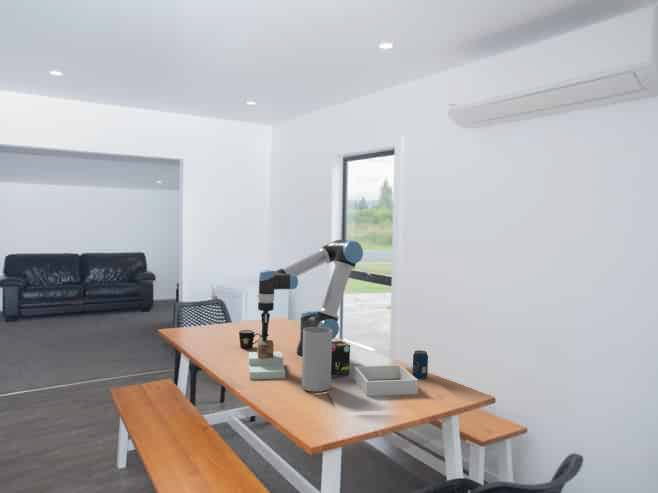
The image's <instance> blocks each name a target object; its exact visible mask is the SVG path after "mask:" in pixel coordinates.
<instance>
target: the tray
mask: <svg viewBox="0 0 658 493" xmlns="http://www.w3.org/2000/svg"><path fill="white" fill-rule="evenodd" d="M352 375H353V377H352V379H353V381H354V382H355V383H356V385H357V386H358V387H359V388H360V390H361V391H362V392H363V394H364V395H365V396H366V397H378V396H379V397H380V396H381V397H382V396H383V397H384V396H402V395H403V396H405V395H406V396H407V395H418V394H419V379H417V378H415V377H414V376H413V373H411V372H409V371H408V370H407V369H406V368H405V367H404V366H402V365H401V364H391V365H389V364H388V365H360V366H359V365H354V366H353V374H352ZM392 379H393V380H392Z"/></svg>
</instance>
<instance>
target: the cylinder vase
mask: <svg viewBox="0 0 658 493" xmlns="http://www.w3.org/2000/svg"><path fill="white" fill-rule="evenodd" d="M332 342H333V339H332V329H329V328H324V327H309V328H305V329H303V356H302V355H301V356H302V357H301V358H302V362H301V363H302V365H301V369H302V370H301V388H302V389H303V390H305V391H308V392H315V393H317V392H318V393H319V392H326V391H328V390H330V388H331V387H332V386H331V385H332V378H331V357H332Z"/></svg>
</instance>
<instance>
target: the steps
mask: <svg viewBox="0 0 658 493" xmlns="http://www.w3.org/2000/svg"><path fill="white" fill-rule="evenodd" d="M247 361H248V364H247V365H248V374H249V375H248V376H249V380H270V379H272V380H274V379H275V380H276V379H277V380H278V379H286V370H285V366H284V357H283V354H282V351H273V359H258V355H257V351H249V352H248V360H247Z"/></svg>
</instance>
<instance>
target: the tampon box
mask: <svg viewBox="0 0 658 493" xmlns="http://www.w3.org/2000/svg"><path fill="white" fill-rule="evenodd" d="M350 358H351V344H348V343H346V342H344V341H342V340H336V341H332V357H331V379H333V378H339V377H345V376H346V377H347V376H349V375H350V361H351V360H350Z"/></svg>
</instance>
